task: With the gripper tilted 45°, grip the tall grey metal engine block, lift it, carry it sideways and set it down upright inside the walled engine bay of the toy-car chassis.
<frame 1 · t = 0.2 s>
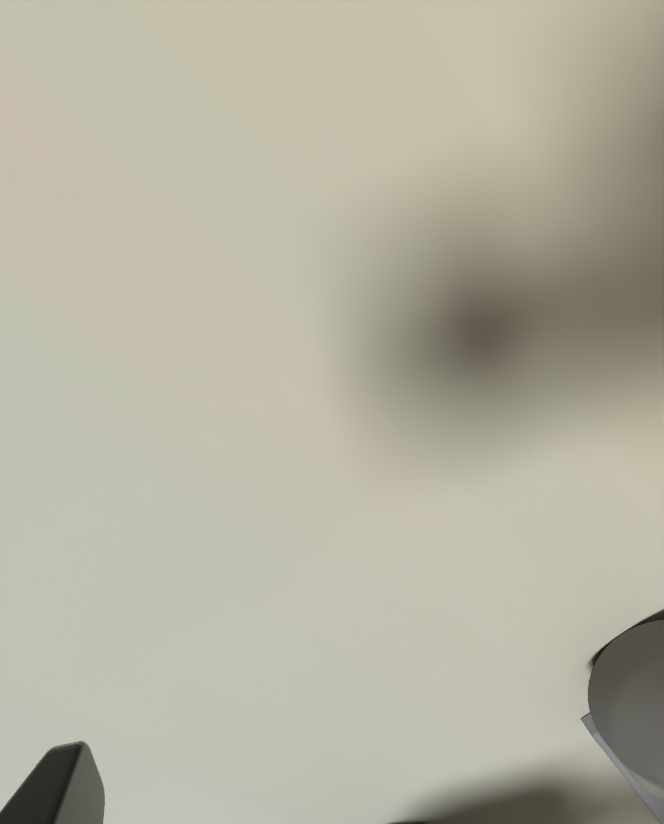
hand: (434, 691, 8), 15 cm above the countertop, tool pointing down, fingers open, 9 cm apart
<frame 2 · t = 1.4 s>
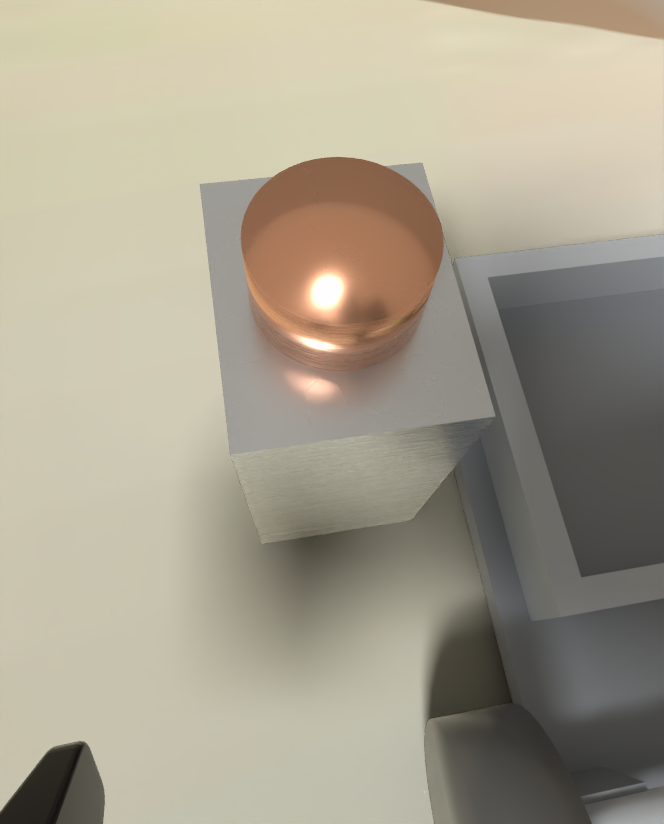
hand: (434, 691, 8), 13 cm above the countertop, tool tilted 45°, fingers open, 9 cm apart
engine block: (322, 443, 23), on the countertop
chassis: (617, 428, 24), on the countertop
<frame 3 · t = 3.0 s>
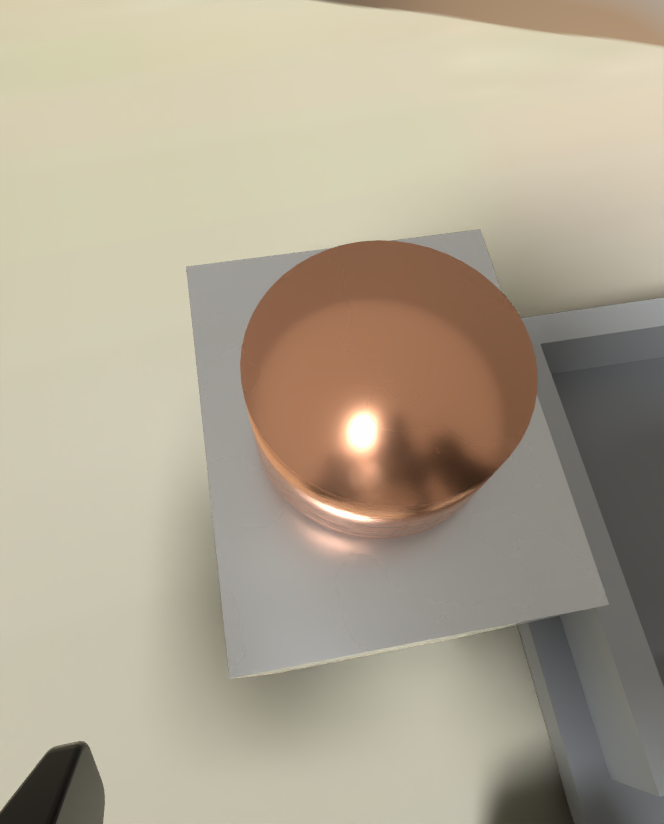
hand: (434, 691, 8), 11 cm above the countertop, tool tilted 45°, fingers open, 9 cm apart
engine block: (343, 541, 20), on the countertop
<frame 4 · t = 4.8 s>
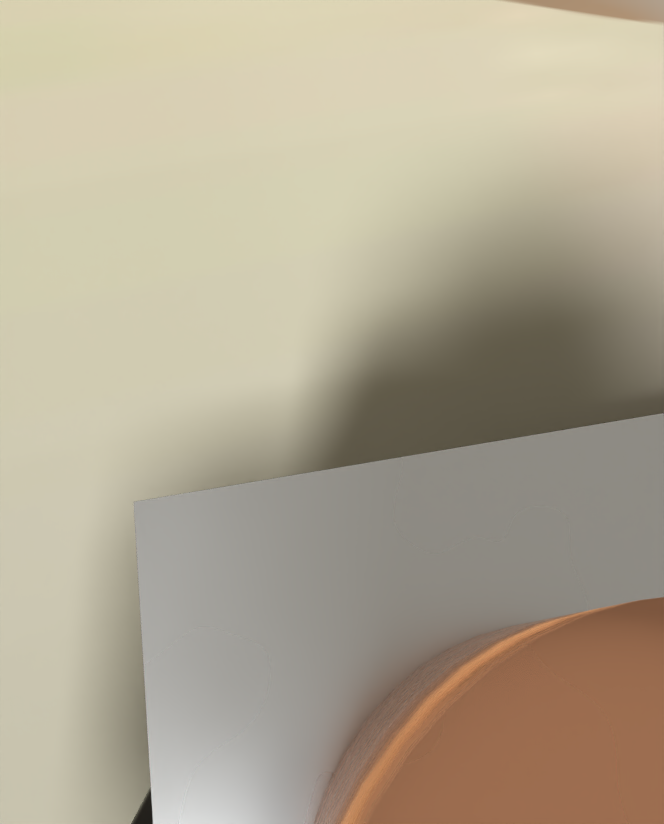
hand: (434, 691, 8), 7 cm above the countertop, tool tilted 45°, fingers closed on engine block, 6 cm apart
engine block: (393, 747, 14), on the countertop, touching gripper
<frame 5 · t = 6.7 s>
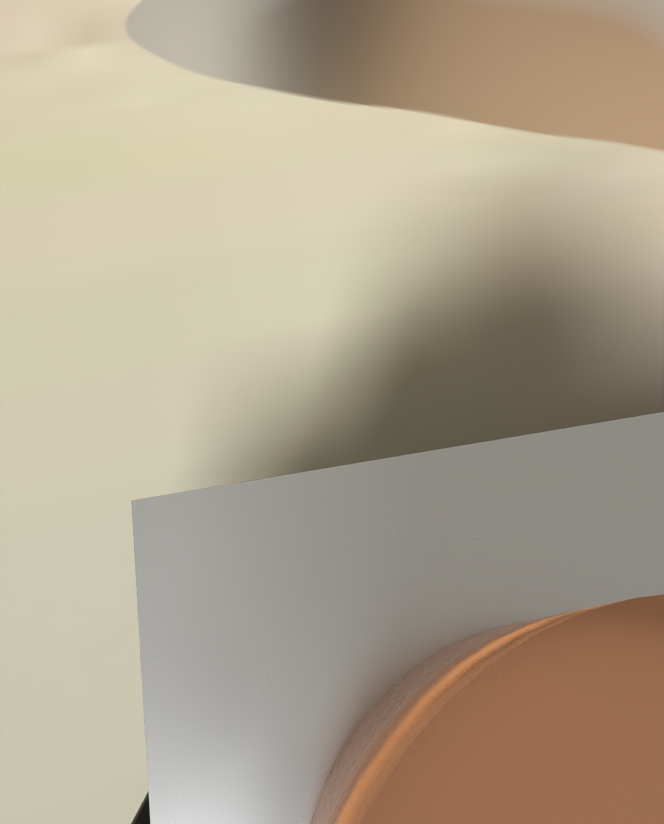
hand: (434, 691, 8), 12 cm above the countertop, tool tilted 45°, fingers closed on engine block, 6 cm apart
engine block: (392, 747, 14), point 6 cm above the countertop, touching gripper
when the fingers open (9 cm above the countertop, at t = 8.8 s): engine block drops 1 cm, resting on chassis.
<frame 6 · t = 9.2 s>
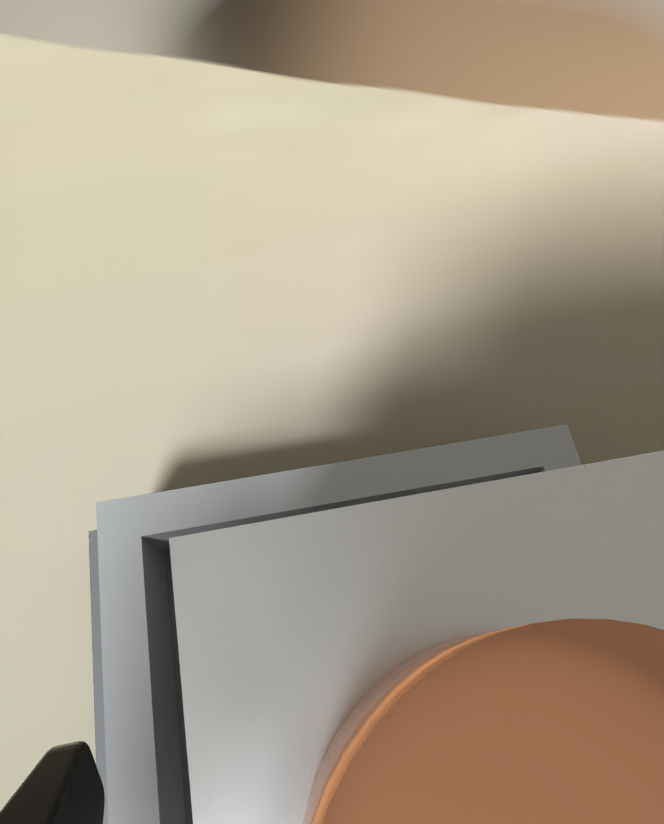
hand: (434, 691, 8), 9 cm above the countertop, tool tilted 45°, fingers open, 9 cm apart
engine block: (385, 739, 15), point 1 cm above the countertop, touching chassis
chassis: (381, 735, 16), on the countertop
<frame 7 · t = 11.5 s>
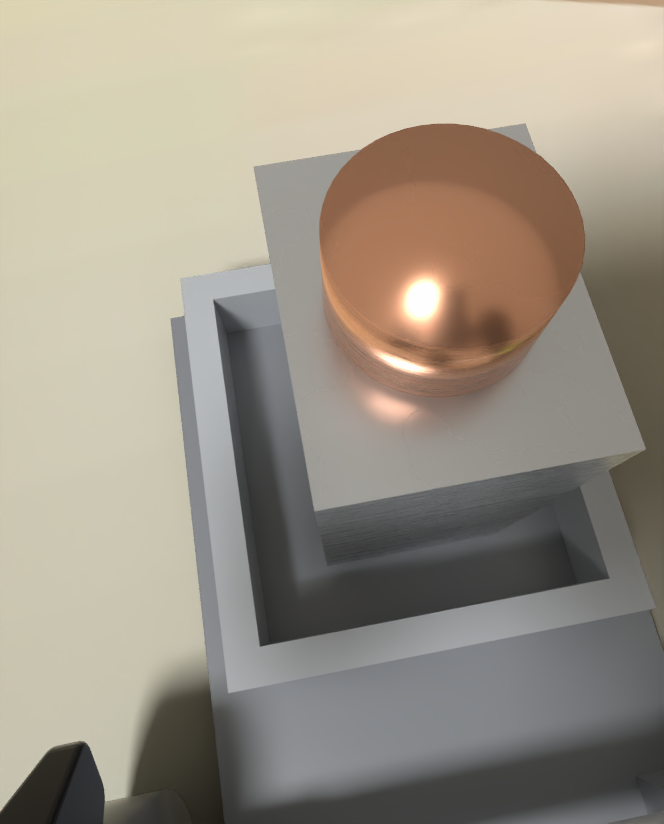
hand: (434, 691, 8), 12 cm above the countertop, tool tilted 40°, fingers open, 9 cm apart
engine block: (388, 449, 21), point 1 cm above the countertop, touching chassis
chassis: (386, 456, 22), on the countertop
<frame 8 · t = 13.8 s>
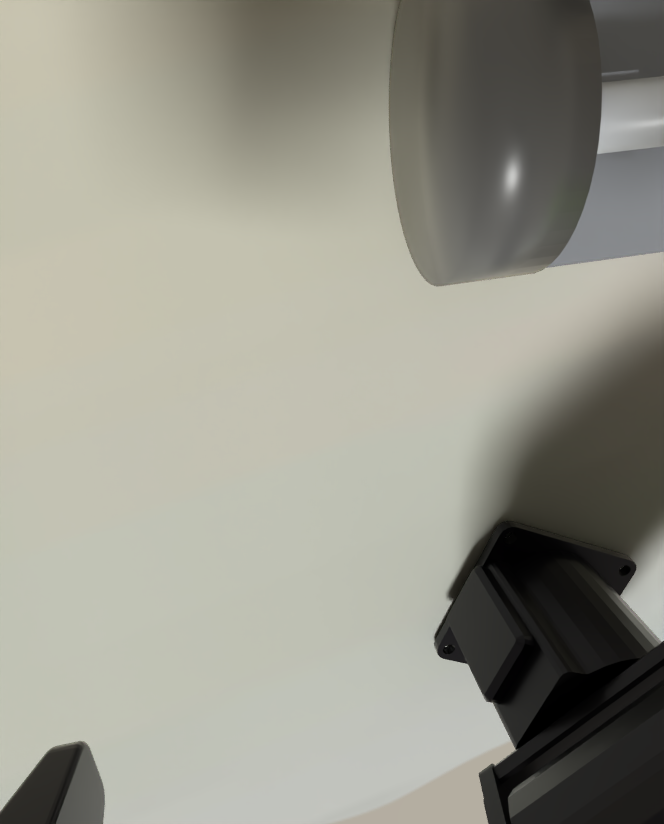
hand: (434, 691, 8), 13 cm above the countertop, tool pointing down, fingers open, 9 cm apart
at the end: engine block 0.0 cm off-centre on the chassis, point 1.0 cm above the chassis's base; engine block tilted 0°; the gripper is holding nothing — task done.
